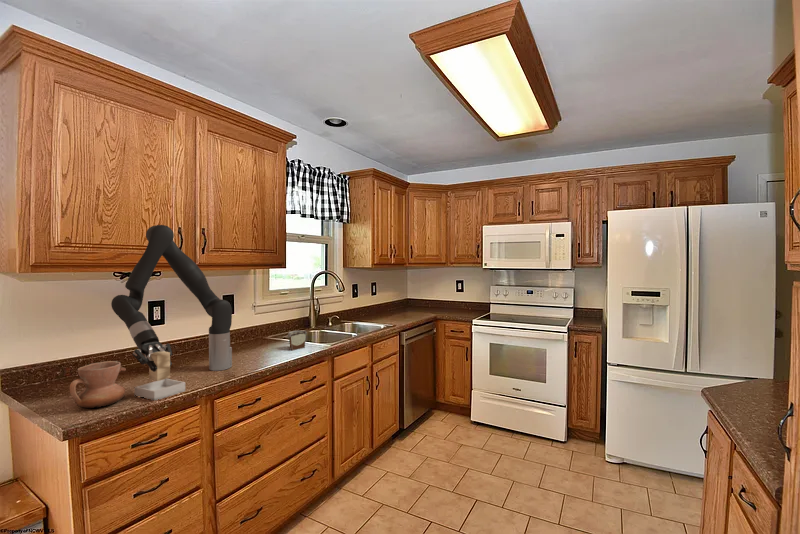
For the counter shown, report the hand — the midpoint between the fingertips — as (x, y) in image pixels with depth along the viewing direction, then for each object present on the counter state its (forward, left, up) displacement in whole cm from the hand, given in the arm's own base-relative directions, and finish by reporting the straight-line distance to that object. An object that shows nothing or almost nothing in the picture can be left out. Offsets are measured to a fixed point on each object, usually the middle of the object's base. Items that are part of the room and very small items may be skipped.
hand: (162, 368), depth 151 cm
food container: (-84, -7, -10) cm, 85 cm away
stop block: (0, -2, -4) cm, 5 cm away
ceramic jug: (+17, -10, -10) cm, 22 cm away
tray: (0, -2, -10) cm, 10 cm away
